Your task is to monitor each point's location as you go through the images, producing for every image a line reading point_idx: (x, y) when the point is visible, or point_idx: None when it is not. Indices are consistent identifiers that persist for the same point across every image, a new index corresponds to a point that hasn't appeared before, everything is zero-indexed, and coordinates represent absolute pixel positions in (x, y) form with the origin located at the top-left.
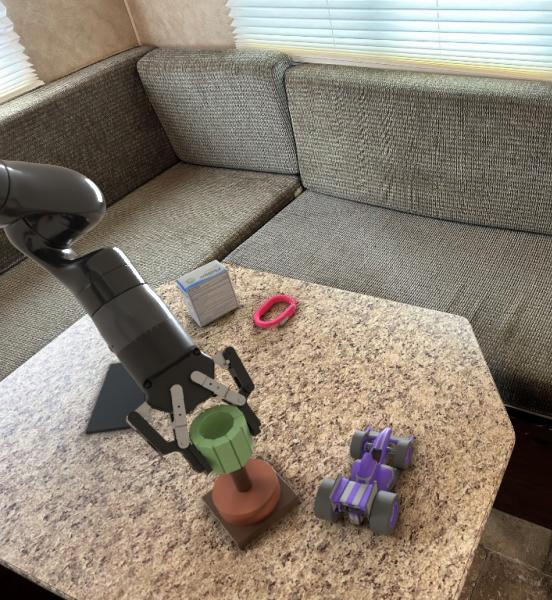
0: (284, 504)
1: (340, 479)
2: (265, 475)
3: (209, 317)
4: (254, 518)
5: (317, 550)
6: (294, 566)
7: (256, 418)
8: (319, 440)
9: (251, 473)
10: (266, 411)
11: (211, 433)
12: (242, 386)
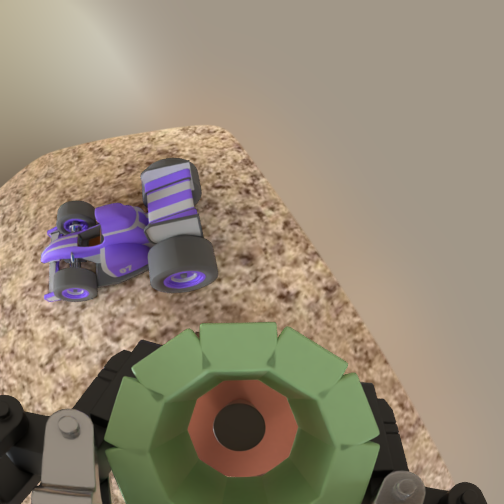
0: None
1: (153, 231)
2: None
3: None
4: None
5: (254, 263)
6: (291, 278)
7: (110, 367)
8: (85, 372)
9: (209, 420)
10: None
11: (240, 494)
12: (12, 446)
